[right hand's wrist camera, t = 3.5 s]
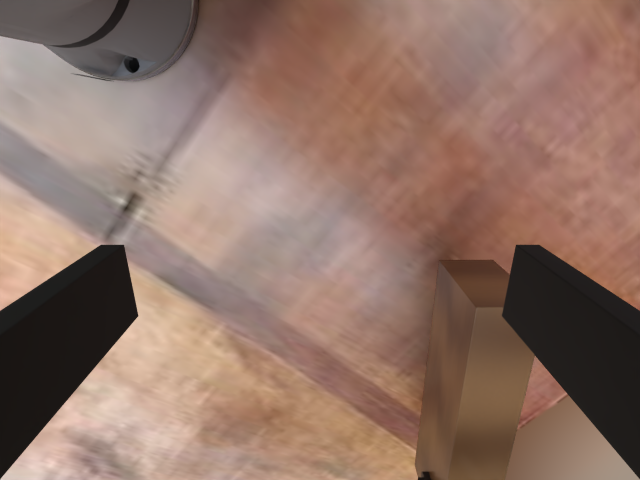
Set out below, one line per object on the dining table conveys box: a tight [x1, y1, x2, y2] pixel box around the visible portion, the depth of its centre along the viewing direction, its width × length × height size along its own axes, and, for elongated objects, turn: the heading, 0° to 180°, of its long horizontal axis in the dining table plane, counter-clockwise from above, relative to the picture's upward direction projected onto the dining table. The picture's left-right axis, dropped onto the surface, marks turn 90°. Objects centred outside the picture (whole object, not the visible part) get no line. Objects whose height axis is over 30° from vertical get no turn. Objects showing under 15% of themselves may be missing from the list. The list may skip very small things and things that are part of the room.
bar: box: [415, 260, 535, 480], centre depth 35 cm, size 27×5×9 cm, turn 0°
